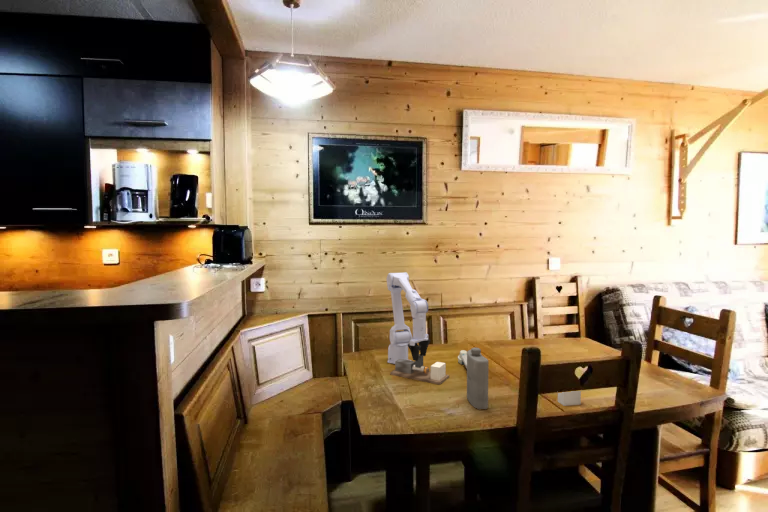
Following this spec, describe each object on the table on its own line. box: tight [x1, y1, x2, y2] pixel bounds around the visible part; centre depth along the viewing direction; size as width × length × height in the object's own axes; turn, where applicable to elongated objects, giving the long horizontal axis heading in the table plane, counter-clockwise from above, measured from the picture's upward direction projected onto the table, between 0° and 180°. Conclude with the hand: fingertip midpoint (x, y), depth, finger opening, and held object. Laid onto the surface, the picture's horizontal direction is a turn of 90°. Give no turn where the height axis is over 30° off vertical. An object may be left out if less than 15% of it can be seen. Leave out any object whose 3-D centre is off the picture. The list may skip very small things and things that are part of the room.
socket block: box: [430, 361, 447, 381], centre depth 169 cm, size 4×7×6 cm, turn 149°
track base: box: [389, 359, 450, 386], centre depth 174 cm, size 24×10×5 cm, turn 59°
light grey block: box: [557, 390, 582, 407], centre depth 145 cm, size 4×7×10 cm, turn 99°
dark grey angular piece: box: [412, 353, 430, 374], centre depth 175 cm, size 14×3×8 cm, turn 59°
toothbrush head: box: [457, 349, 468, 369], centre depth 182 cm, size 5×7×25 cm
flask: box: [466, 347, 489, 410], centre depth 146 cm, size 15×6×20 cm, turn 2°
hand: (419, 357), depth 173 cm, fingers open, 7 cm apart
